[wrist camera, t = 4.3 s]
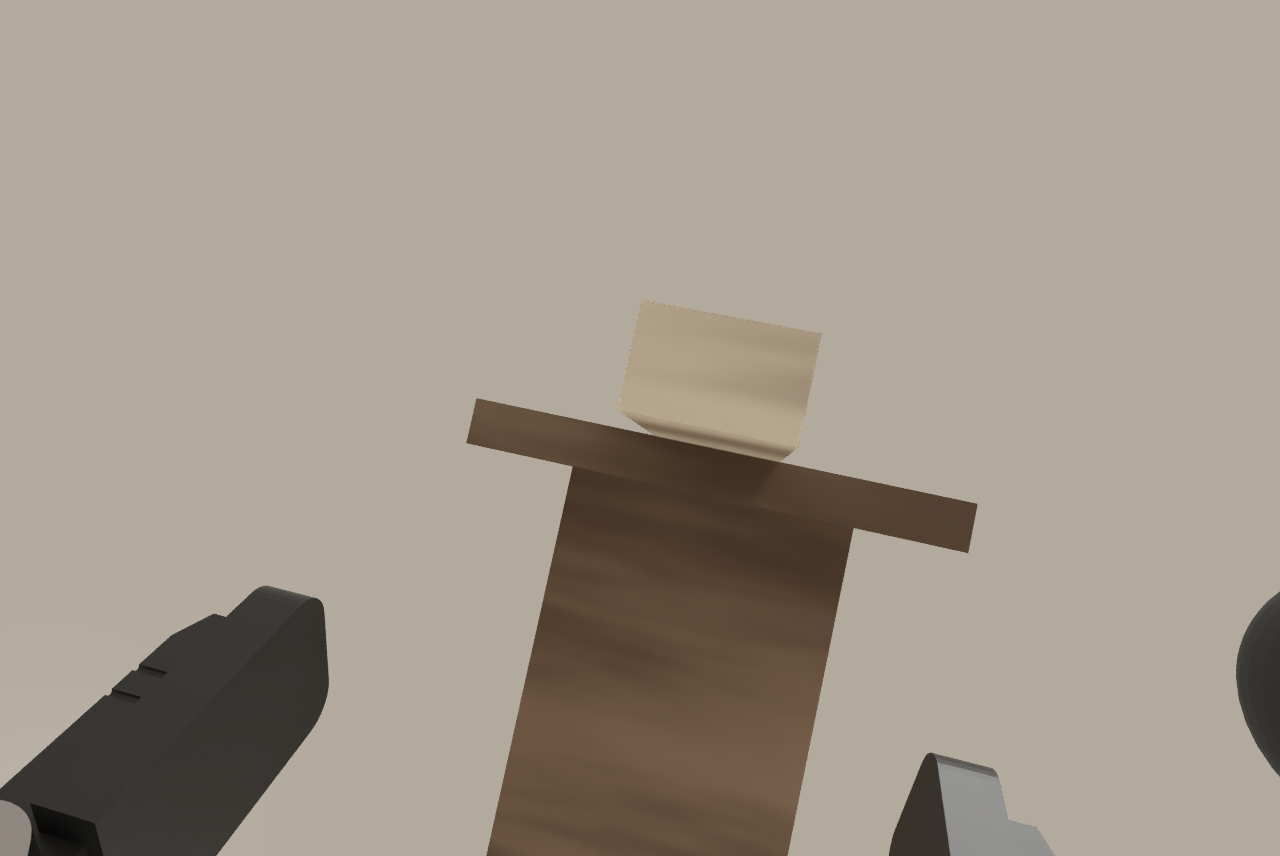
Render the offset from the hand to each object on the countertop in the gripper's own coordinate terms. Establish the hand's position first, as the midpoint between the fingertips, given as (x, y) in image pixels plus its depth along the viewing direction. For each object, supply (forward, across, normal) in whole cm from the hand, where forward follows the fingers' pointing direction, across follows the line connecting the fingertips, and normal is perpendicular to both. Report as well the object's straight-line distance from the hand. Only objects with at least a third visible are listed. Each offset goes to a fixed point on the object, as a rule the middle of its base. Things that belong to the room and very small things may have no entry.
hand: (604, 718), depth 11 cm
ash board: (+17, 0, -5) cm, 17 cm away
